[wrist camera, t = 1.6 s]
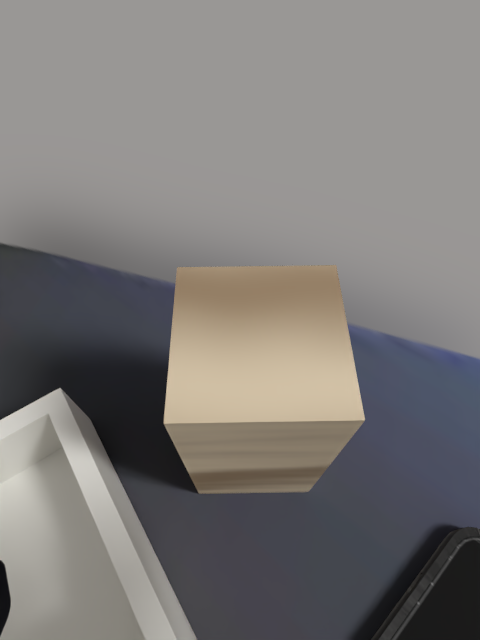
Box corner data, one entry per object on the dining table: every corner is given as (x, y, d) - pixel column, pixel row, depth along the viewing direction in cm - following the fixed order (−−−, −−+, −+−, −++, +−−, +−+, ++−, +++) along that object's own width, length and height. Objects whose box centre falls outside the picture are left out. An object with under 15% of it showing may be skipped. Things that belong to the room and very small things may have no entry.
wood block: (308, 491, 18) (364, 420, 10) (199, 493, 18) (163, 423, 10) (298, 389, 21) (336, 265, 13) (202, 391, 21) (176, 267, 13)
